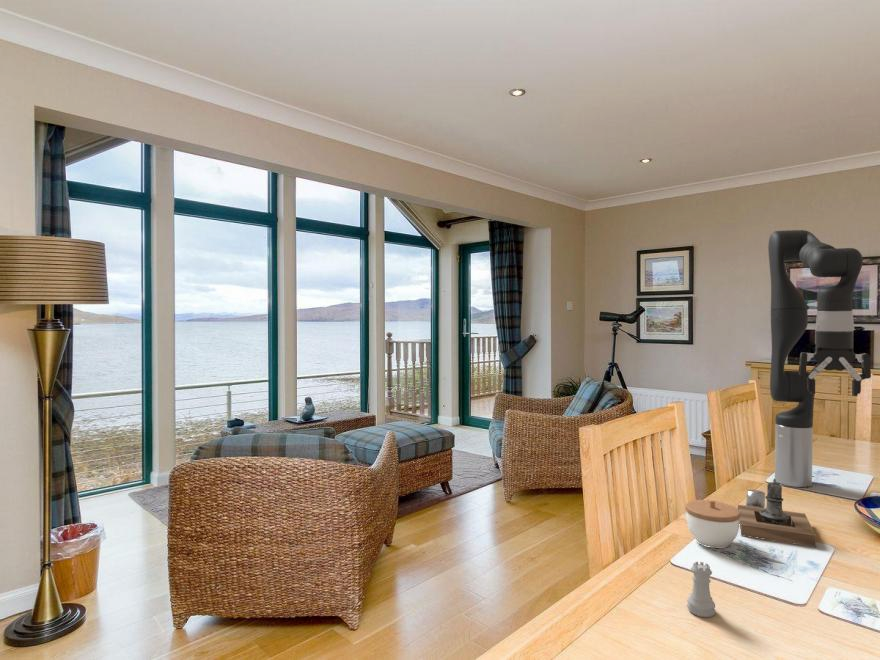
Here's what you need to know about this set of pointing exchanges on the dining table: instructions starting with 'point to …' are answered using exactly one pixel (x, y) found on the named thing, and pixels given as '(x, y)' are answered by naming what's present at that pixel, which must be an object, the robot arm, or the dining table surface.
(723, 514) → the lidded jar
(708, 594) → the rook chess piece
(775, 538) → the hole board
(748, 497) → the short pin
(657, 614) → the dining table surface
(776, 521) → the dark chess piece
